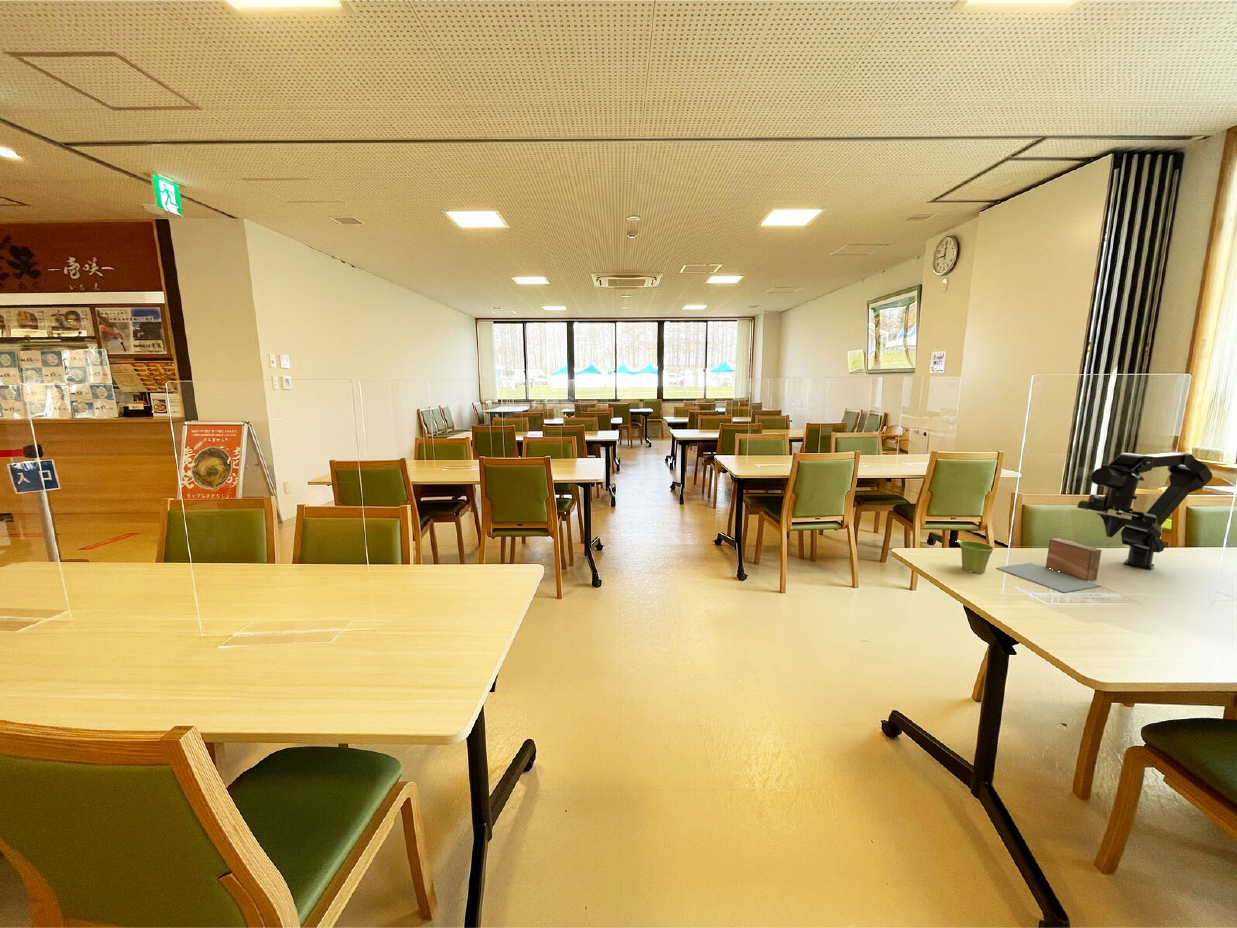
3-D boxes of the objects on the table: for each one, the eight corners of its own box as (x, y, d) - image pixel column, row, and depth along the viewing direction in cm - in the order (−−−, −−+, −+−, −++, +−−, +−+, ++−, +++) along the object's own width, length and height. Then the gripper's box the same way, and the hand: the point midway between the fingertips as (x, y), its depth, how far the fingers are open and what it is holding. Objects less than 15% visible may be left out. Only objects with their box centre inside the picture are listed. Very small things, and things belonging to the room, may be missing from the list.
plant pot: (967, 563, 170) (970, 539, 168) (997, 573, 161) (1000, 547, 160) (949, 567, 166) (952, 542, 165) (979, 577, 158) (982, 551, 156)
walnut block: (1054, 566, 167) (1058, 538, 165) (1096, 579, 156) (1101, 549, 154) (1044, 567, 166) (1049, 539, 164) (1086, 581, 154) (1092, 551, 153)
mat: (1030, 563, 169) (1030, 562, 169) (1100, 586, 151) (1100, 585, 150) (996, 568, 165) (996, 567, 165) (1063, 592, 146) (1063, 592, 146)
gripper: (1138, 496, 166) (1125, 540, 167) (1073, 483, 171) (1061, 526, 172) (1164, 498, 156) (1150, 546, 157) (1095, 484, 160) (1081, 530, 161)
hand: (1109, 537), depth 162 cm, fingers closed
